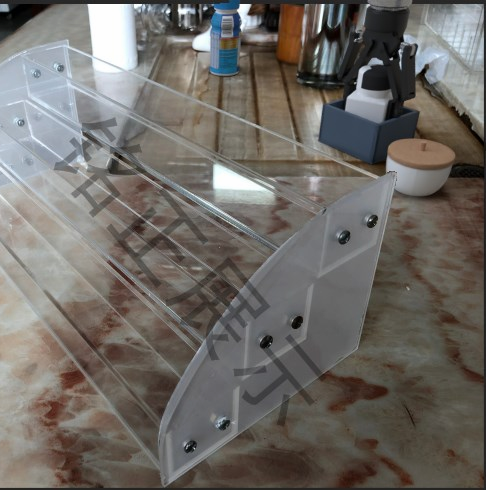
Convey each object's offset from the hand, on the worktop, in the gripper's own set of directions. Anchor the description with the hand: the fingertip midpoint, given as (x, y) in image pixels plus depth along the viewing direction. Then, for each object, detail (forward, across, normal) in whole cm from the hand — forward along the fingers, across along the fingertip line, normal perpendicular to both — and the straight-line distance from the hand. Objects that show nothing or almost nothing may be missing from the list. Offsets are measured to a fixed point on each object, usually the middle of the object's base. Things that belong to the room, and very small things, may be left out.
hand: (367, 123), depth 120 cm
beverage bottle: (+5, -55, +8) cm, 56 cm away
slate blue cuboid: (+1, 0, +6) cm, 6 cm away
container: (+2, 0, 0) cm, 2 cm away
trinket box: (+5, +18, -9) cm, 21 cm away
